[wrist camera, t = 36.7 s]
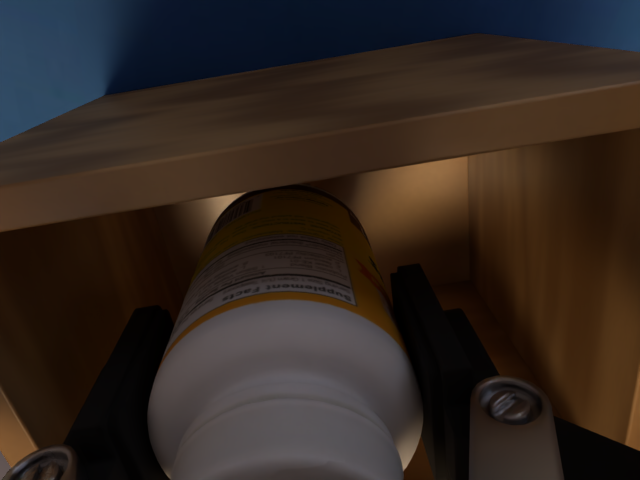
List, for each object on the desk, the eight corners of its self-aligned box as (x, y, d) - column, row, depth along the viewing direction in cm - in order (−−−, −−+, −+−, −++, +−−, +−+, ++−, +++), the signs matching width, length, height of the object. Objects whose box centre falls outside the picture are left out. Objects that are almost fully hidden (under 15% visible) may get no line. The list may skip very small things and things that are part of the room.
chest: (182, 329, 23) (92, 598, 13) (103, 95, 18) (-155, 211, 8) (480, 282, 23) (642, 515, 12) (479, 32, 18) (745, 62, 8)
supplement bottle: (353, 325, 18) (417, 649, 9) (204, 311, 17) (107, 644, 8) (383, 186, 16) (513, 432, 7) (213, 164, 15) (90, 401, 6)
